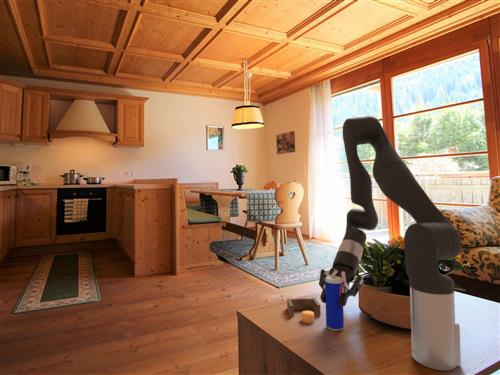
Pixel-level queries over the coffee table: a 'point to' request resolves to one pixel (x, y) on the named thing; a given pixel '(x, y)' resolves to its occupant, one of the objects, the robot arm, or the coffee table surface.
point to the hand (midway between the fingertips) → (331, 303)
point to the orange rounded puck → (307, 316)
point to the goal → (303, 305)
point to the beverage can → (334, 303)
